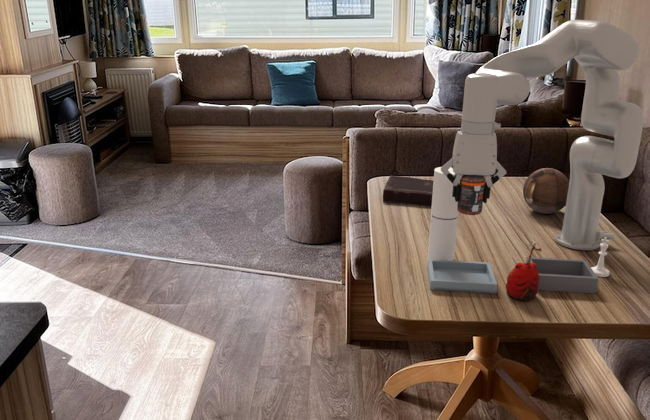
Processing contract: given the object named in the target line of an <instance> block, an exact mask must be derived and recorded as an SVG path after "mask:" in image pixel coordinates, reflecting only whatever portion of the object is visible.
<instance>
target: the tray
mask: <svg viewBox="0 0 650 420" xmlns="http://www.w3.org/2000/svg"><path fill="white" fill-rule="evenodd" d="M427 274H428V275H427V276H428V284H429V290H430V291H445V292H461V293H462V292H463V293H475V294H493V295H495V294H496V295H497V294H498V293H497V292H498V283H497V279H496V277H495V273H494V270H493V267H492V264H491V262H489V261H488V262H487V261H485V262H484V261H470V260H469V261H467V260H453V261H452V260H435V259H428V258H427Z"/></svg>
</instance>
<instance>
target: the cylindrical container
mask: <svg viewBox="0 0 650 420" xmlns="http://www.w3.org/2000/svg"><path fill="white" fill-rule="evenodd" d="M441 167H442V166H439V167H435V168H434V173H433V180H434V182H433V195H432V206H431V209H430V222H429V235H428V248H427V249H428V250H427V260H428V259H435V260H452V261H455V251H456V242H457V240H456V239H457V230H458V218H459V211H458V210H457V205H458V202H456V201H455V197H452V192H453V183H452V182H451V181H450V180H449V179H448V178H447V177H446V176H445V175H444V174H443V173H442V172H441ZM448 171H449V172H450V173H451V174H452V175H453V176H454V175H455V173H454V172H453V168H452V167H450V168H449V169H448ZM459 183H460V181H459Z"/></svg>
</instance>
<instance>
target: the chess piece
mask: <svg viewBox="0 0 650 420" xmlns="http://www.w3.org/2000/svg"><path fill="white" fill-rule="evenodd" d="M600 241H601V244H600V247H599V248H600V251H598V255H599V258H598V261H597V265H595V266H592V267H591V266H590V267H591V269H592V270H593V271H594V273H595V274H596V276H597V277H598V278H599V277H601V278H607V277H609V276H610V270H609V269H607V268H606V267H605V256H607V255H608V253H607V252H606V251H607V249H608V248H609V244H608V243H609V242H610V240H606V237H605V238H604V239H602V240H600Z"/></svg>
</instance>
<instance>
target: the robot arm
mask: <svg viewBox="0 0 650 420" xmlns="http://www.w3.org/2000/svg"><path fill="white" fill-rule="evenodd" d="M640 51H641V48H640V45H639V42H638V40H637V39H636V37H634V36H633V35H632V34H630V33H628V32H626V31H624V30H622V29H621V28H619V27H617V26H616V25H614V24H612V23H610V22H607V21H604V20H603V21H602V20H590V19H570V20H568V21H565V22H564V23H562V24H560V25H559V26H557V27H556V28H554V29H553V30H552V31H550V32H549V33H547V34H546V35H544V36H543V37H541V38H540V39H538V41H536V42H535V43H533V44H530V45H526V46H523V47H520V48H517V49H515V50H511V51H508V52H505V53H502V54H500V55H498V56H496V57H494V58H492V59H491V60H488V62H486V63H485V64H483V65H482V66H481V67H480V68H478V69H477V70H476V72H475V73H470V74H468V75H467V76H466V78H465V81H464V91H463V102H462V111H461V113H462V115H461V121H460V122H461V123H460V124H461V125H460V130H458V131H457V132H456V134H455V139H454V143H453V149H452V157H451V158H450V159H449V160H448V161H447V162H446V163H444V164H443V165H442V166H440V167H441V172H442V173H443V174H444V175H445V176H446V177H447V178H448V179H449V180H450V181H451V182H452V183H453V192H452V197H455V201H456V202H458V201H459V193H460V185H459V181H460V179H461V178H462V176H463V175H478V176H483V177H484V178H485V187H484V196H483V204H487V202H488V200H489V199H490V197H491V196H490V195H491V189H492V187H493V186H494V185H495V184H496V183H497V182H498V181H500V179H502V178H503V177H504V176H505V175H507V170H506V169H505V168H504V166H502V164H500V162H499V161H498V160H497V158H498V157H497V156H498V144H497V143H498V141H497V140H498V139H497V134H496V132H495V131H497V130H501V126H502V124H501V123H498V122H496V121H495V120H496V113H497V106H498V105H499V106H500V105H503V106H505V105H506V106H517V105H518V104H521V103H523V102H524V101H525V100H526V99H527V98H528V96H529V94H530V92H531V84H530V81H529V78H530V79H531V78H540V77H545V76H549V75H552V74H554V73H555V72H556V71H558V70H559V69H561V68H562V67H564V65H566V64H567V63H569V62H570V61H571V60H573V59H574V60H575V61H576V62H577V64H578V65H579V66H580V67H581V70H582V71H583V73H584V76H585V87H584V88H585V89H584V94H583V95H584V96H583V103H582V108H581V109H582V110H581V114H580V118H581V119H580V123H581V126H582V128H583V129H584V130H586V131H589V132H591V133H592V132H593V133H597V134H599V135H600V134H601V135H605V136H608V137H613V138H614V139H613V140H611V139H607V138H603V137H598V136H594V135H584V136H580V137H577V138H576V139H575V140H574V141H573V142H572V144H571V147H570V150H569V164H570V165H569V166H570V167H569V169H570V171H569V172H570V173H569V188H568V194H567V201H566V206H565V207H564V208H565V209H564V215H563V222H562V227H561V229H562V230H561V231H560V232H558V233H556V234H555V238H554V240H555V241H556V243H557V244H559V245H561V246H563V247H565V248H568V249H572V250H577V251H594V250H597V249H599V248H601V247H600V244H601V243H602V241H601V240H602V239H604V238H605V237H606V240H609V241H614V239H615V234H614V233H610V232H607V230H600V229H599V222H600V217H601V213H602V211H601V210H602V206H603V199H604V195H605V180H604V176H607V177H611V178H615V179H625V178H628V177H629V176H630V175H631V174H632V172H633V171H634V169H635V167H636V164H637V159H638V156H639V151H640V143H641V139H642V134H643V129H644V122H645V121H644V112H643V110H642V108H641V107H640V105H637V104H636V103H633V102H628V101H622V100H620V99H619V95H620V94H619V93H620V86H621V77H620V73H619V71H626V70H629V69H631V68H632V67H634V65H636V64H637V61H638V59H639V57H640V54H641V53H640ZM450 167H452V168H453V172H454V173H455V175H454V176H453V175H452V174H451V173H450V172H449V171H448V169H449V168H450ZM496 171H497V172H496ZM603 175H604V176H603Z"/></svg>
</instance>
